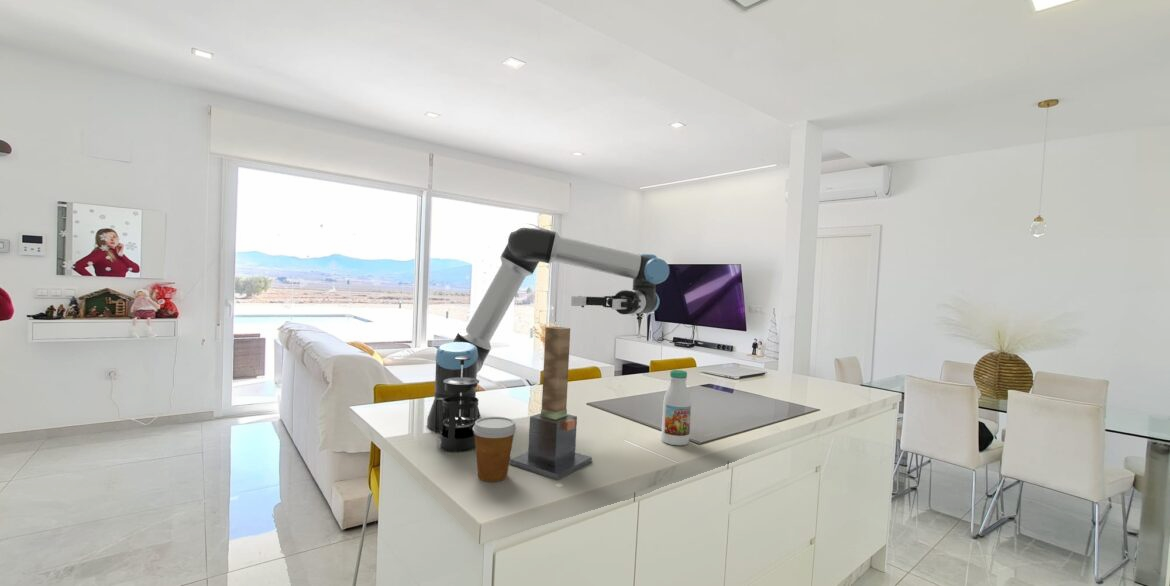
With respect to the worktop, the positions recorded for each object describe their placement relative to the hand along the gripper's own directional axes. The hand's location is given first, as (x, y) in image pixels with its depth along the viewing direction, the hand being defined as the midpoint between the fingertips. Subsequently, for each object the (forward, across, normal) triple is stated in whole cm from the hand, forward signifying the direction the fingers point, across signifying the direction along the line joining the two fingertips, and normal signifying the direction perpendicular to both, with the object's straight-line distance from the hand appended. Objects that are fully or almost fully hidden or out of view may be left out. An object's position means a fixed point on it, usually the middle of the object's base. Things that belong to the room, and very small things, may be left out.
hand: (592, 302), depth 135 cm
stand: (+21, -4, -38) cm, 43 cm away
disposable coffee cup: (+35, +1, -38) cm, 52 cm away
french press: (+27, +22, -38) cm, 52 cm away
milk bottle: (-15, -20, -38) cm, 46 cm away
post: (+21, -4, -30) cm, 36 cm away
